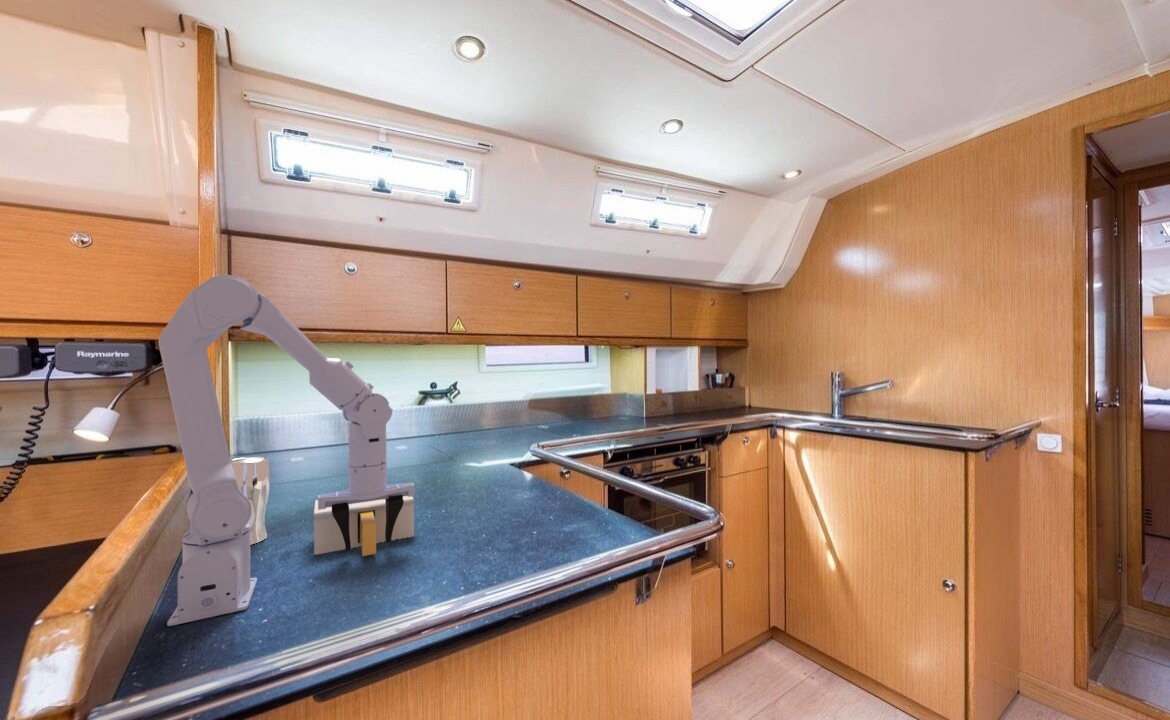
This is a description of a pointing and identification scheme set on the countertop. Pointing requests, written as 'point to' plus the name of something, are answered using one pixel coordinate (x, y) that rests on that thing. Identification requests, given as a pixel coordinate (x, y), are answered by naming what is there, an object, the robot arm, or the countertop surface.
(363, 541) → the tab
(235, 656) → the countertop surface
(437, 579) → the countertop surface
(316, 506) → the dispenser
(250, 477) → the beer glass
